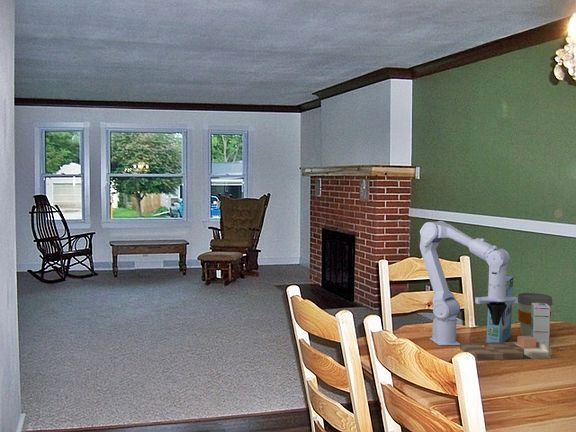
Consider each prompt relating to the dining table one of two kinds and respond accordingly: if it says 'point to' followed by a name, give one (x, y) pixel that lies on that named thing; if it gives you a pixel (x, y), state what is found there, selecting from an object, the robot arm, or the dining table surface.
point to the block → (526, 341)
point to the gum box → (504, 328)
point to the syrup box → (540, 322)
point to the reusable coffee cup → (529, 309)
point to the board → (506, 351)
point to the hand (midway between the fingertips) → (495, 324)
